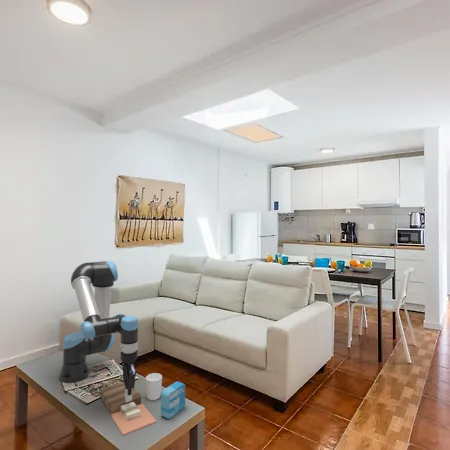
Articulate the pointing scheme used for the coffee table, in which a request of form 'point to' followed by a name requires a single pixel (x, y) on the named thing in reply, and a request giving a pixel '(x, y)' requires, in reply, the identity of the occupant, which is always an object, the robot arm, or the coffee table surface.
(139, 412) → the birch tile
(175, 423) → the coffee table surface
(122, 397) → the block
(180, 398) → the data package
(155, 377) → the white cup
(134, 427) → the terracotta mat
